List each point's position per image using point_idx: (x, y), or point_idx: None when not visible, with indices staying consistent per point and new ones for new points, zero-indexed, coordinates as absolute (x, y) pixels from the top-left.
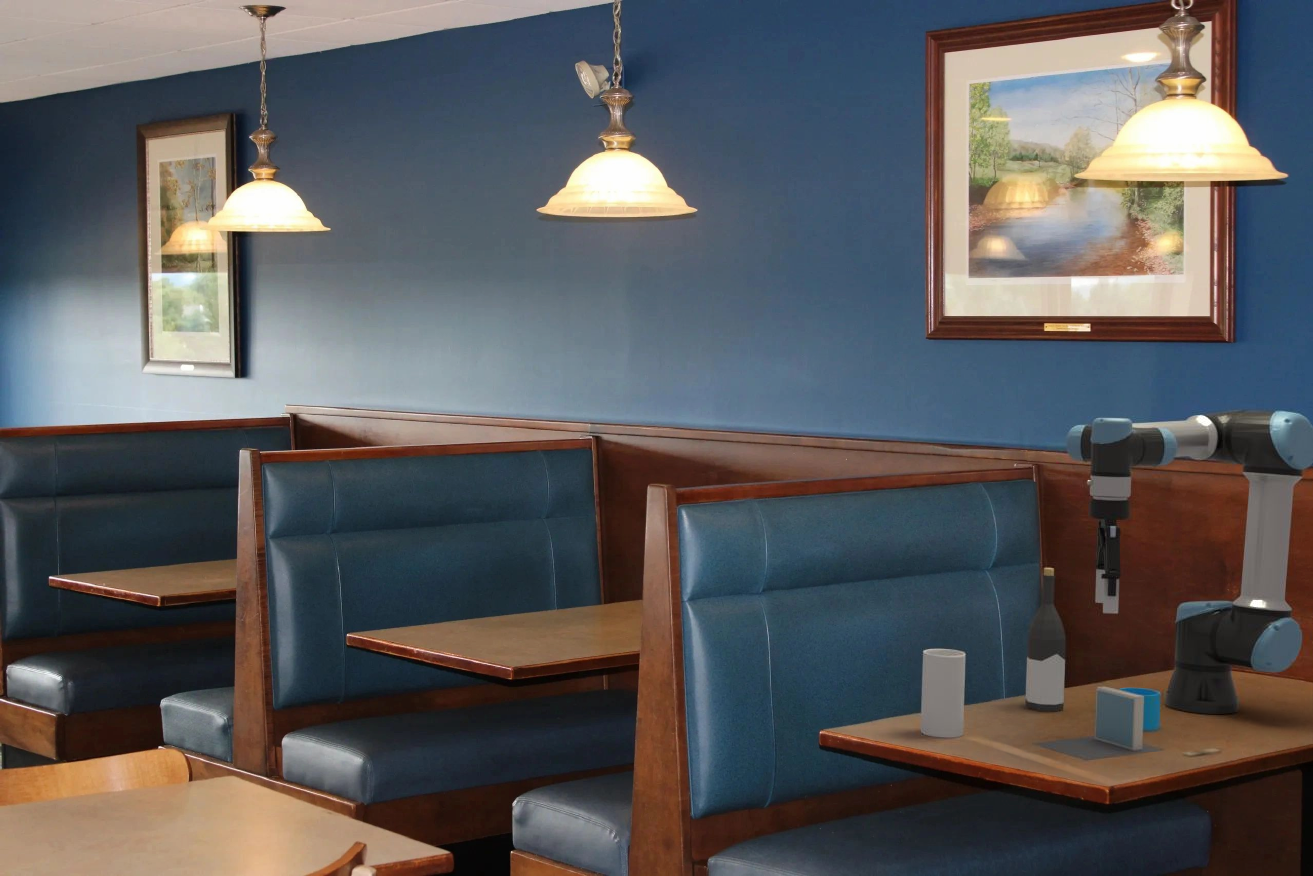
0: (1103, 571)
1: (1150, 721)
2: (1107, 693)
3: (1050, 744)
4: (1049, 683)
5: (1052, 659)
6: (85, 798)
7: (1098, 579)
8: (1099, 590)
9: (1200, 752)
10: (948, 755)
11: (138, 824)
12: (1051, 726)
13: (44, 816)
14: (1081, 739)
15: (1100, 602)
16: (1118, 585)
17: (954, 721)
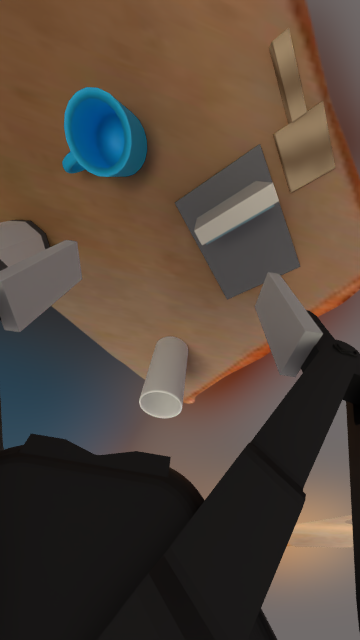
0: (16, 306)
1: (139, 127)
2: (224, 234)
3: (231, 284)
4: (26, 249)
5: (1, 255)
6: (288, 541)
7: (41, 305)
8: (62, 285)
9: (295, 83)
10: (245, 358)
11: (319, 538)
12: (120, 254)
13: (305, 544)
14: (207, 246)
15: (79, 267)
16: (309, 319)
17: (185, 353)
